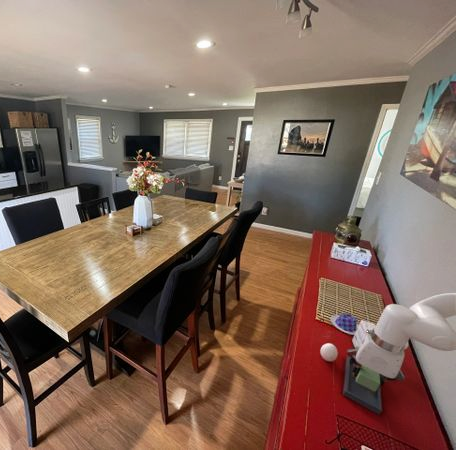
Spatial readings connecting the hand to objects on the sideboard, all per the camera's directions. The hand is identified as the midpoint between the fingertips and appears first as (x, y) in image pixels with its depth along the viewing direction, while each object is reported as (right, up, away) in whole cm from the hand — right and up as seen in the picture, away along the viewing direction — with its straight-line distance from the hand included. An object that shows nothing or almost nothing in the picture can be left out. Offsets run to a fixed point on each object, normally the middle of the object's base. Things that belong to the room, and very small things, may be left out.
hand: (365, 378), depth 82 cm
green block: (0, 0, 0) cm, 0 cm away
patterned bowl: (+16, +6, +30) cm, 34 cm away
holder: (+1, -4, +4) cm, 6 cm away
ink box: (+13, +1, +18) cm, 22 cm away
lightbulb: (+23, -1, +15) cm, 28 cm away
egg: (-5, -1, +13) cm, 14 cm away
